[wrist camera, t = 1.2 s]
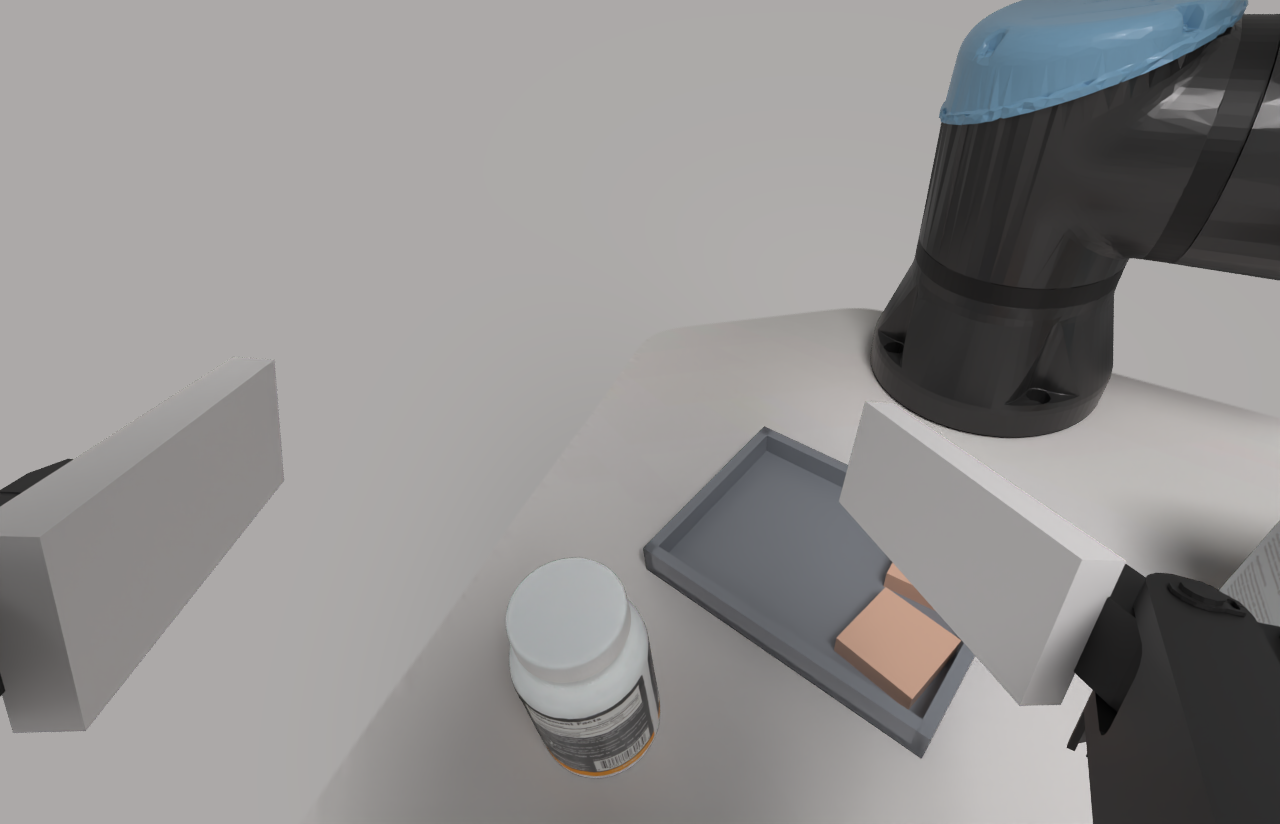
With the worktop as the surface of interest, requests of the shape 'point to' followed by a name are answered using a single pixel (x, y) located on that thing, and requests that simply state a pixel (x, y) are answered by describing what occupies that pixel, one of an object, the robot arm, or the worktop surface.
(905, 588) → the tile
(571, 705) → the pill bottle
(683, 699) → the worktop surface
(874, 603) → the tile
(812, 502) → the tray
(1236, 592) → the small box
